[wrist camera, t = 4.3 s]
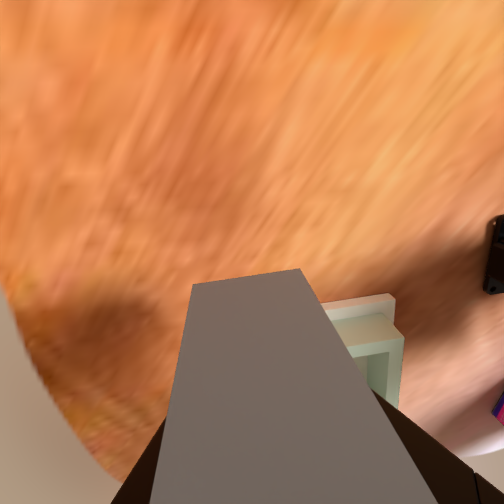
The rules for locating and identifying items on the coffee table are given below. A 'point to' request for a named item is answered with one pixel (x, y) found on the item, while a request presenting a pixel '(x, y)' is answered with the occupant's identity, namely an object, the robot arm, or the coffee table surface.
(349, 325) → the socket block
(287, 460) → the peg
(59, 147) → the coffee table surface
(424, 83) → the coffee table surface
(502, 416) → the supplement box
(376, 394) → the robot arm
